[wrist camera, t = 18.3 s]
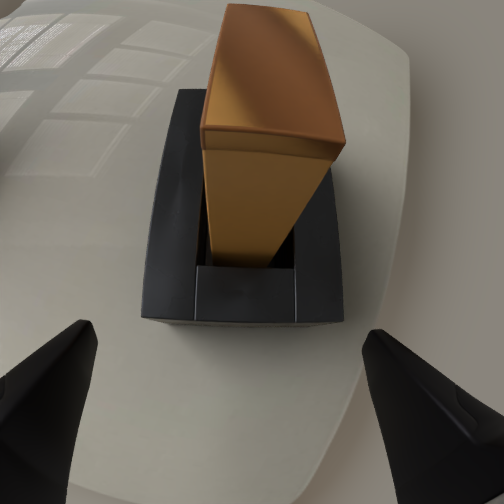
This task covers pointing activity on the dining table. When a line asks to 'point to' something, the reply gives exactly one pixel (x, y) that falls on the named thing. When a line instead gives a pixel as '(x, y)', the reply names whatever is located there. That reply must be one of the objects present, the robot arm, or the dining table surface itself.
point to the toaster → (227, 277)
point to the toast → (265, 131)
